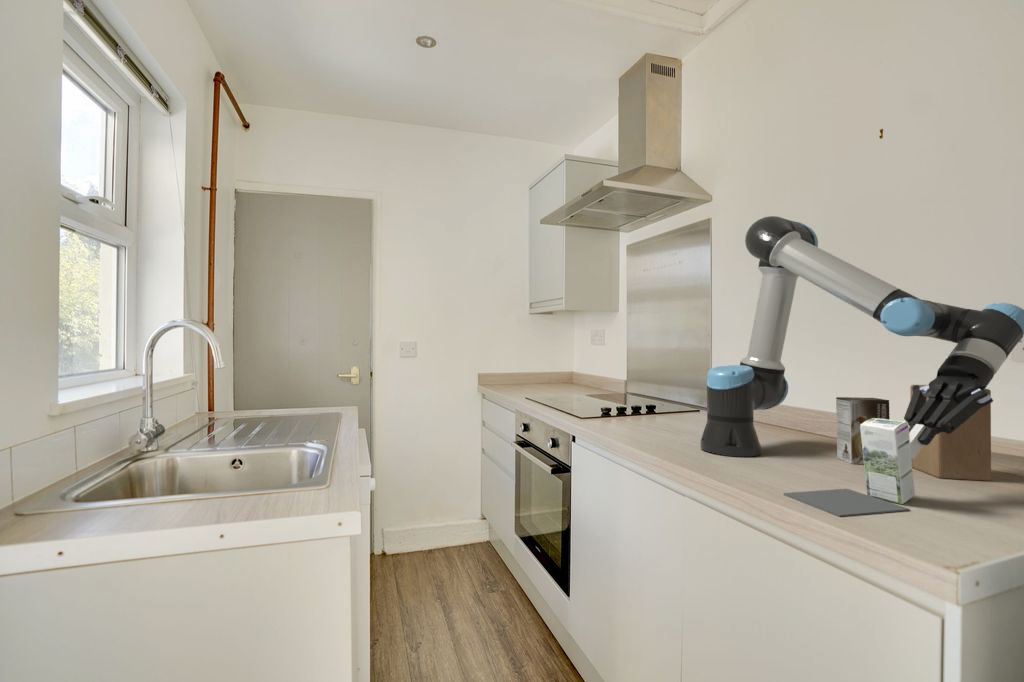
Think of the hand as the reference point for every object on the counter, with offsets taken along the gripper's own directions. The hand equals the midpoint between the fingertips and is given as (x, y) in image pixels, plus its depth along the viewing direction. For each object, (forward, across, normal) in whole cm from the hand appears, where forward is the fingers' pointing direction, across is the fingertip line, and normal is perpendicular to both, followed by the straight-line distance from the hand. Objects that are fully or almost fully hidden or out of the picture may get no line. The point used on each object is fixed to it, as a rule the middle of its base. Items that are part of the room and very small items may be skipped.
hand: (905, 453), depth 88 cm
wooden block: (-14, +12, -26) cm, 32 cm away
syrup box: (+8, 0, -4) cm, 9 cm away
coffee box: (-8, +25, -20) cm, 33 cm away
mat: (+16, +1, +4) cm, 16 cm away
